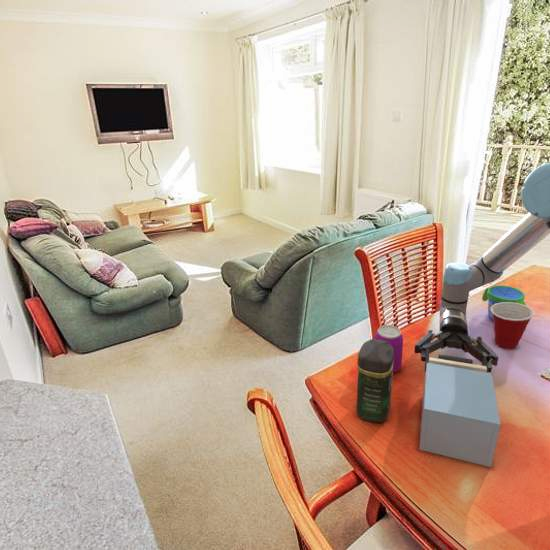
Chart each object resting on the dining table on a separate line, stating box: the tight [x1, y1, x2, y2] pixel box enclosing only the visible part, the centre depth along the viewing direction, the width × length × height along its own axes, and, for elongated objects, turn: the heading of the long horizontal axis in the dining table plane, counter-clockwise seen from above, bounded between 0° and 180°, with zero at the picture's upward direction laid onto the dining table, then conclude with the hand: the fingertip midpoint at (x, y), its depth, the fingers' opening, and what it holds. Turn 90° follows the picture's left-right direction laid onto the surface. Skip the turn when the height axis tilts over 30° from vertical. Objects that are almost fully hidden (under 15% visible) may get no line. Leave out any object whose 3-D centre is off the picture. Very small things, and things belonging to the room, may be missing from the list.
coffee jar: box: [355, 338, 394, 423], centre depth 90 cm, size 10×8×19 cm
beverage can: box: [374, 324, 404, 373], centre depth 106 cm, size 8×8×12 cm
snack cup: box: [481, 284, 527, 322], centre depth 124 cm, size 16×10×10 cm
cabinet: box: [419, 363, 502, 468], centre depth 83 cm, size 16×14×12 cm
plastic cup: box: [490, 302, 535, 350], centre depth 111 cm, size 11×11×12 cm
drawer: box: [429, 354, 487, 372], centre depth 90 cm, size 20×13×10 cm, turn 158°
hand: (455, 372), depth 92 cm, fingers closed on drawer, 13 cm apart
